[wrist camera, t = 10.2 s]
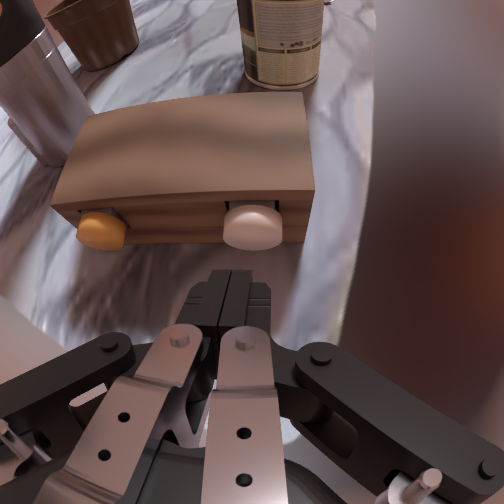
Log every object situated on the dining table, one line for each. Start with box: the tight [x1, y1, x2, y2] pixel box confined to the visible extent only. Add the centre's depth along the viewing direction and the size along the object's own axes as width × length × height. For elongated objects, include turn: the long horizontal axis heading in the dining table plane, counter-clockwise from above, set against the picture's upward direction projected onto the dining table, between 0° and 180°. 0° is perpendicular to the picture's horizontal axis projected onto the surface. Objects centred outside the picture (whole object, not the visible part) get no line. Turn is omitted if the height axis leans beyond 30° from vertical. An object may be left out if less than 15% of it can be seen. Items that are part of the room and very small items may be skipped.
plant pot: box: [44, 0, 139, 71], centre depth 35 cm, size 16×16×16 cm
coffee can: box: [237, 0, 324, 90], centre depth 28 cm, size 10×10×14 cm
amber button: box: [76, 207, 128, 251], centre depth 22 cm, size 6×4×4 cm, turn 179°
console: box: [50, 92, 315, 244], centre depth 24 cm, size 10×20×8 cm, turn 89°
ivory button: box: [223, 200, 282, 250], centre depth 21 cm, size 6×4×4 cm, turn 179°
